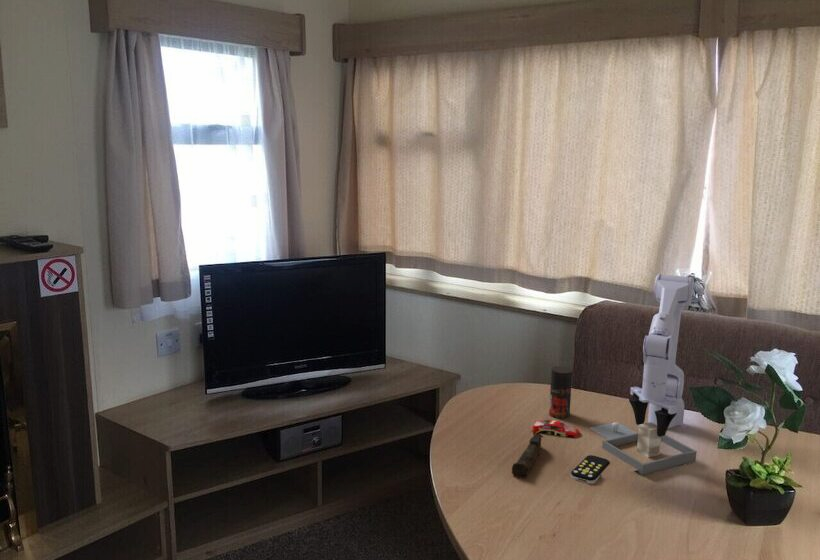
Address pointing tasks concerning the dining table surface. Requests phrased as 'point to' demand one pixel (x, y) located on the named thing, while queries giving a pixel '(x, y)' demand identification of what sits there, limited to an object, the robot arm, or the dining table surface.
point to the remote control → (590, 469)
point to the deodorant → (560, 392)
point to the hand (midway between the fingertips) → (650, 429)
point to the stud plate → (612, 430)
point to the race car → (554, 428)
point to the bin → (653, 466)
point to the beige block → (648, 440)
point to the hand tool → (527, 457)
